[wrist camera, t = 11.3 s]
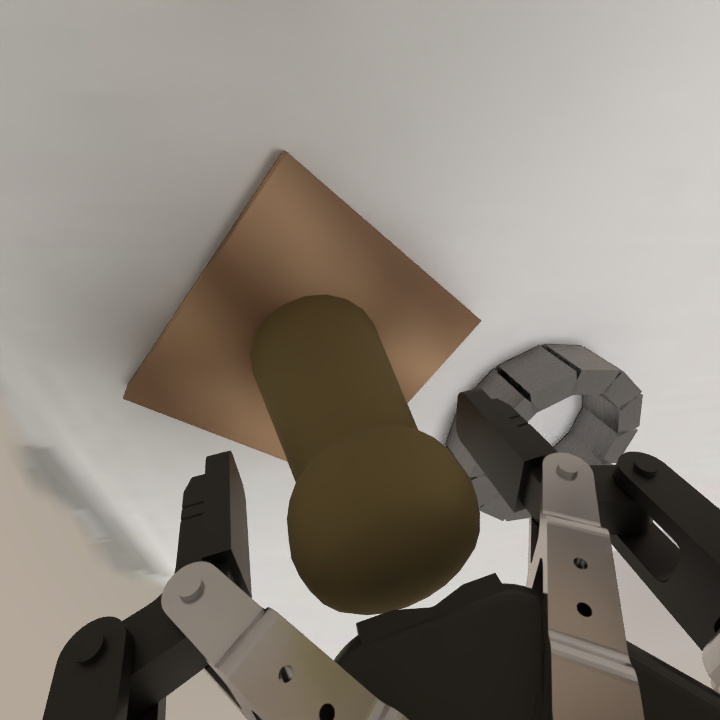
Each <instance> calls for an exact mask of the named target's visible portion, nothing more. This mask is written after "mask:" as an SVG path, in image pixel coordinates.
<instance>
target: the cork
mask: <svg viewBox="0 0 720 720" xmlns="http://www.w3.org/2000/svg"><path fill="white" fill-rule="evenodd" d="M250 355H251V364H252V372H253V375H254V377H255V380H256V382H257V385H258V387H259V390H260V393H261V395H262V398H263V400H264V403H265V405H266V408H267V410H268V413H269V415H270V418H271V420H272V423H273V426H274V428H275V431H276V433H277V436H278V438H279V441H280V443H281V446H282V448H283V451H284V453H285V456H286V459H287V461H288V464H289V466H290V469H291V471H292V474H293V476H294V479H295V481H296V484H295V487H294V490H293V492H292V495H291V498H290V501H289V508H288V516H287V524H288V536H289V544H290V551H291V558H292V561H293V563H294V565H295V567H296V570H297V572H298V574H299V576H300V578H301V579H302V580H303V582H304V583H305V585H306V586H307V587H308V589H309V590H310V591H311V592H312V593H313V594H314V595H315V596H316V597H317V598H318V599H319V600H320V601H321V602H322V603H323V604H324V605H326V606H328V607H330V608H332V609H334V610H336V611H339V612H344V613H353V614H361V615H372V614H381V613H386V612H389V611H391V610H398V609H402V608H405V607H408V606H410V605H412V604H414V603H417V602H419V601H421V600H423V599H425V598H427V597H429V596H430V595H432V594H433V593H435V592H436V591H437V590H439V589H440V588H442V587H443V586H445V585H446V584H447V583H448V582H449V581H450V580H451V579H452V578H453V577H454V576H455V575H456V574H457V573H458V572H459V571H460V570H461V568H462V567H463V566H464V564H465V563H466V561H467V559H468V558H469V556H470V555H471V553H472V552H473V550H474V549H475V546H476V543H477V539H478V536H479V532H480V512H479V506H478V500H477V495H476V493H475V490H474V487H473V484H472V481H471V478H470V477H469V476H468V474H467V473H466V471H465V470H464V469H463V467H462V466H461V464H460V463H459V462H458V461H457V459H456V458H455V457H454V456H453V455H452V453H451V452H450V451H449V450H448V448H446V447H445V446H444V445H443V444H441V443H440V442H439V441H437V440H436V439H435V438H434V437H431V436H429V435H427V434H425V433H423V432H421V431H419V430H418V428H417V426H416V424H415V421H414V419H413V416H412V414H411V412H410V409H409V407H408V404H407V402H406V400H405V397H404V395H403V392H402V390H401V388H400V385H399V383H398V380H397V378H396V376H395V373H394V371H393V368H392V366H391V364H390V361H389V359H388V356H387V354H386V352H385V349H384V347H383V344H382V342H381V340H380V337H379V335H378V332H377V330H376V328H375V325H374V323H373V322H372V321H371V319H370V318H369V317H368V315H367V314H366V313H365V311H364V310H363V309H361V308H360V307H358V306H357V305H355V304H354V303H352V302H350V301H349V300H347V299H344V298H340V297H335V296H331V295H327V294H326V295H313V296H304V297H301V298H299V299H296V300H294V301H291V302H288V303H286V304H284V305H282V306H281V307H280V308H279V309H277V310H276V311H275V312H274V313H272V314H271V315H270V316H268V317H267V318H266V320H265V321H264V323H263V324H262V326H261V327H260V329H259V330H258V332H257V333H256V335H255V338H254V342H253V346H252V350H251V354H250Z"/></svg>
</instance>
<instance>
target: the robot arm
mask: <svg viewBox="0 0 720 720" xmlns="http://www.w3.org/2000/svg"><path fill="white" fill-rule="evenodd" d="M456 430H457V434H458V437H459V439H460V441H461V442H462V444H463V445H464V446H465V448H466V449H467V451H468V452H469V453H470V455H471V456H472V457H473V459H474V460H475V461H476V463H477V464H478V465H479V467H480V468H481V469H482V471H483V472H484V473H485V475H486V476H487V477H488V479H489V480H490V481H491V483H492V484H493V485H494V487H495V488H496V489H497V491H498V492H499V493H500V495H501V496H502V497H503V499H504V500H505V501H506V503H507V504H508V505H509V507H510V508H511V509H512V511H513V512H514V513H515V512H518V511H521V510H524V509H527V511H528V512H529V513H530V520H529V551H528V575H527V583H526V587H525V586H521V585H516V584H502V583H501V581H500V580H499V578H498V576H497V575H496V573H494V574H491V575H488V576H485V577H482V578H480V579H477V580H474V581H471V582H469V583H466V584H463V585H462V586H460V587H459V588H458V589H457V590H455V591H454V592H453V593H451V594H450V595H449V596H447V597H446V598H445V599H443V600H442V601H441V602H439V603H438V604H437V605H435V606H433V607H430V608H417V609H402V610H391V611H389V612H386V613H383V614H380V615H378V616H375V617H372V618H369V619H367V620H364V621H361V622H358V623H356V626H357V632H358V636H356V637H355V638H354V639H352V640H351V641H350V642H349V643H348V644H347V645H346V646H345V647H344V648H343V649H342V650H341V651H340V653H339V654H338V655H337V656H336V658H335V659H334V661H333V660H332V659H331V658H330V657H329V656H328V655H326V654H325V653H324V652H323V651H322V650H321V649H319V648H318V647H317V646H316V645H315V644H314V643H312V642H311V641H310V640H309V639H308V638H307V637H305V636H304V635H303V634H302V633H301V632H300V631H299V630H297V629H296V628H295V627H294V626H293V625H292V624H290V623H289V622H288V621H287V620H286V619H285V618H283V617H282V616H281V615H280V614H279V613H277V612H276V611H275V610H273V609H272V608H269V607H268V608H266V609H264V608H262V607H261V606H260V605H258V604H257V603H256V602H255V601H254V600H253V599H252V593H251V577H250V561H249V545H248V529H247V513H246V499H245V493H244V488H243V484H242V481H241V478H240V475H239V472H238V469H237V466H236V463H235V460H234V457H233V455H232V452H231V451H227V452H223V453H219V454H215V455H211V456H207V457H206V466H205V474H203V475H199V476H196V477H192V478H191V480H190V482H189V484H188V485H187V487H186V489H185V491H184V494H183V504H182V508H183V510H182V513H181V523H180V533H179V542H178V552H177V561H176V569H175V573H174V575H173V576H172V577H171V578H170V580H169V581H168V582H167V584H166V586H165V588H164V590H163V593H162V594H161V595H160V596H159V597H158V598H157V599H156V600H155V601H153V602H152V603H150V604H149V605H147V606H146V607H144V608H143V609H141V610H140V611H138V612H136V613H135V614H133V615H131V616H130V617H128V618H127V619H125V620H123V621H121V620H120V619H118V618H115V617H102V618H99V619H96V620H94V621H92V622H90V623H88V624H87V625H85V626H84V627H82V628H81V629H80V630H79V631H78V632H76V634H75V635H73V636H72V638H71V639H70V640H69V641H68V642H67V644H66V645H65V647H64V648H63V650H62V651H61V653H60V655H59V658H58V661H57V664H56V668H55V672H54V676H53V680H52V684H51V688H50V692H49V696H48V700H47V704H46V708H45V712H44V716H43V720H165V711H166V696H167V695H169V694H170V693H171V692H173V691H174V690H175V689H176V688H178V687H179V686H181V685H182V684H183V683H185V682H186V681H187V680H189V679H190V678H191V677H193V676H194V675H195V674H197V673H198V672H200V671H201V670H202V669H204V671H205V672H206V673H207V674H208V675H209V676H210V677H211V678H212V680H213V681H214V682H215V683H216V684H217V685H218V686H219V688H220V689H221V690H222V691H223V692H224V693H225V694H226V696H227V697H228V698H229V699H230V700H231V701H232V702H233V703H234V705H235V706H236V707H237V708H238V709H239V710H240V711H241V713H242V714H243V715H244V716H245V717H246V719H247V720H720V509H719V508H717V507H716V506H715V505H714V504H713V503H711V502H710V501H709V500H708V499H707V498H705V497H704V496H703V495H702V494H701V493H699V492H698V491H697V490H696V489H695V488H693V487H692V486H691V485H690V484H689V483H687V482H686V481H685V480H684V479H683V478H681V477H680V476H679V475H678V474H677V473H676V472H674V471H673V470H672V469H671V468H670V467H668V466H667V465H666V464H665V463H663V462H662V461H661V460H659V459H657V458H655V457H653V456H651V455H648V454H645V453H641V452H626V453H624V454H622V455H621V456H620V457H619V458H618V461H617V463H616V465H588V464H587V463H586V462H585V461H583V460H582V459H580V458H579V457H577V456H574V455H571V454H568V453H559V452H558V451H556V450H555V449H554V448H553V447H552V446H551V445H550V444H549V443H548V442H547V441H546V440H545V439H544V438H543V437H542V436H541V435H540V434H539V433H538V432H537V431H536V430H535V429H534V428H533V427H532V426H531V425H530V424H528V422H527V421H526V420H525V419H524V418H523V417H521V416H520V414H519V413H518V412H517V411H516V410H515V409H514V408H513V407H512V406H511V405H509V404H507V403H505V402H503V401H501V400H499V399H497V398H496V399H491V398H490V397H489V396H488V395H487V394H486V393H485V392H484V391H483V390H482V389H480V388H477V389H473V390H469V391H465V392H461V393H459V395H458V401H457V416H456ZM653 520H654V521H655V522H656V523H657V524H658V525H659V526H660V527H661V528H662V529H663V530H664V531H665V532H666V533H668V535H669V536H670V537H672V539H673V540H674V541H675V542H676V543H677V545H678V546H679V548H680V549H679V548H678V547H677V546H676V545H675V544H674V543H673V542H672V541H671V540H670V539H669V538H668V537H667V536H666V535H665V534H664V533H663V532H662V531H661V530H660V529H659V528H658V527H657V526H656V525H655V524H654V523H653ZM611 544H612V545H613V546H614V547H615V549H616V550H617V551H618V552H619V553H620V554H621V556H622V557H623V558H624V559H625V560H626V561H627V563H628V564H629V565H630V566H631V567H632V569H633V570H634V571H635V572H636V573H637V574H638V576H639V577H640V578H641V579H642V580H643V582H644V583H645V584H646V585H647V586H648V588H649V589H650V590H651V591H652V592H653V593H654V595H655V596H656V597H657V598H658V599H659V600H660V602H661V603H662V604H663V605H664V606H665V608H666V609H667V610H668V611H669V612H670V614H672V616H673V617H674V618H675V619H676V621H677V622H678V623H679V624H680V625H681V626H682V628H683V629H684V630H685V631H686V632H687V634H688V635H689V636H690V637H691V638H692V640H693V641H694V642H695V643H696V644H697V645H698V647H699V648H700V649H701V650H702V651H703V653H702V659H703V664H704V666H705V669H706V671H707V673H708V675H709V677H710V678H711V685H712V687H713V689H711V688H709V687H707V686H705V685H704V684H702V683H700V682H699V681H697V680H695V679H693V678H691V677H690V676H688V675H686V674H684V673H683V672H681V671H679V670H677V669H676V668H674V667H672V666H670V665H669V664H667V663H665V662H663V661H662V660H660V659H658V658H656V657H655V656H653V655H651V654H649V653H648V652H646V651H644V650H642V649H640V648H638V647H637V646H635V645H633V644H632V643H630V642H628V641H626V637H625V630H624V624H623V617H622V611H621V604H620V598H619V592H618V585H617V579H616V572H615V566H614V559H613V553H612V547H611Z"/></svg>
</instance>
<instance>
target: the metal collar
mask: <svg viewBox="0 0 720 720" xmlns="http://www.w3.org/2000/svg"><path fill="white" fill-rule="evenodd" d="M498 367H499V373H500V374H499V373H498V372H496V371H495V370H494V369H493V370H492V371H491V372H490V373H489V374H488V375H487V376H486V377H485V378H484V380H483V381H482V382H481V383H480V384H479V385H478V386H477V387H476V388H475V389H477V388H480V389H482V390H483V391H484V392H485V393H486V394H487V395H488V396H489V397H490V398H491V399H496V398H497V399H499V400H501V401H503V402H505V403H507V404H509V405H511V406H512V407H513V408H514V409H515V410H516V411H517V412H518V413H519V414H520V416H521V417H523V418H524V419H525V420H526V421H527V422H528V421H529V420H530V419H531V418H532V417H533V416H534V415H535V414H536V413H537V412H539V411H541V410H543V409H545V408H547V407H549V406H551V405H553V404H555V403H557V402H559V401H561V400H563V399H565V398H567V397H569V396H571V395H583V408H582V409H581V411H580V413H579V415H578V417H577V419H576V421H575V423H574V425H573V427H572V428H571V430H570V432H569V433H568V434H567V435H566V436H565V437H564V438H563V439H562V440H561V441H560V442H559V443H558V444H557V445H556V446H555V447H554V449H555V450H556V451H558V452H559V453H568V454H571V455H574V456H577V457H579V458H580V459H582V460H583V461H585V462H586V463H587V464H588V465H612V464H611V463H617V461H618V458H619V457H620V456H621V455H622V454H623V453H624V451H625V450H626V448H627V446H628V445H629V443H630V442H631V440H632V438H633V437H634V435H635V434H636V432H637V429H636V427H638V426H639V424H640V415H641V406H642V397H643V395H642V394H640V393H641V392H642V391H641V390H640V389H639V388H638V387H637V386H636V385H635V384H634V382H633V381H632V380H631V379H630V378H629V377H628V376H627V375H626V374H625V373H624V371H622V370H620V369H619V368H617V367H616V366H614V365H612V364H611V363H609V362H607V361H606V360H604V359H603V358H601V357H599V356H598V355H596V354H595V353H593V352H591V351H590V350H588V349H587V348H585V347H582V346H581V345H552V344H545V345H544V347H541V346H538V347H535V348H533V349H531V350H529V351H527V352H525V353H523V354H521V355H519V356H517V357H515V358H513V359H511V360H509V361H506V362H504V363H502V364H500V365H498ZM456 416H457V413H456ZM456 416H455V419H454V422H453V424H452V427H451V430H450V433H449V436H448V439H447V441H446V444H447V447H446V448H448V450H449V451H450V452H451V453H452V455H453V456H454V457H455V458H456V459H457V461H458V462H459V463H460V464H461V466H462V467H463V469H464V470H465V471H466V473H467V474H468V476H469V477H470V478H471V481H472V484H473V487H474V490H475V493H476V495H477V500H478V506H479V511H482V512H484V513H486V514H489V515H491V516H493V517H495V518H498V519H500V520H502V521H503V520H504V519H506V521H511V520H518V519H524V518H530V513H529V512H528V511H527V509H524V510H521V511H518V512H515V513H514V512H513V511H512V509H511V508H510V507H509V505H508V504H507V503H506V501H505V500H504V499H503V497H502V496H501V495H500V493H499V492H498V491H497V489H496V488H495V487H494V485H493V484H492V483H491V481H490V480H489V479H488V477H487V476H486V475H485V473H484V472H483V471H482V469H481V468H480V467H479V465H478V464H477V463H476V461H475V460H474V459H473V457H472V456H471V455H470V453H469V452H468V451H467V449H466V448H465V446H464V445H463V444H462V442H461V441H460V439H459V437H458V434H457V430H456Z"/></svg>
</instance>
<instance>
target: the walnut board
mask: <svg viewBox="0 0 720 720" xmlns="http://www.w3.org/2000/svg"><path fill="white" fill-rule="evenodd" d="M326 294H327V295H331V296H335V297H340V298H344V299H347V300H349V301H350V302H352V303H354V304H355V305H357V306H358V307H360V308H361V309H363V310H364V311H365V313H366V314H367V315H368V317H369V318H370V319H371V321H372V322H373V323H374V325H375V328H376V330H377V332H378V335H379V337H380V340H381V342H382V344H383V347H384V349H385V352H386V354H387V356H388V359H389V361H390V364H391V366H392V368H393V371H394V373H395V376H396V378H397V380H398V383H399V385H400V388H401V390H402V392H403V395H404V397H405V400H406V402H407V403H408V402H409V401H410V400H411V399H412V398H413V396H414V395H415V394H416V393H417V392H418V391H419V390H420V389H421V388H422V386H423V385H424V384H425V383H426V382H427V381H428V380H429V379H430V377H431V376H432V375H433V374H434V373H435V372H436V371H437V370H438V369H439V367H440V366H441V365H442V364H443V363H444V362H445V361H446V360H447V359H448V357H449V356H450V355H451V354H452V353H453V352H454V351H455V350H456V348H457V347H458V346H459V345H460V344H461V343H462V342H463V341H464V340H465V338H466V337H467V336H468V335H469V334H470V333H471V332H472V331H473V330H474V328H475V327H476V326H477V325H478V324H479V323H480V322H481V320H480V319H479V318H478V317H476V316H475V315H474V314H473V313H472V312H471V311H470V310H468V309H467V308H466V307H465V306H464V305H463V304H461V303H460V302H459V301H458V300H457V299H456V298H455V297H453V296H452V295H451V294H450V293H449V292H448V291H446V290H445V289H444V288H443V287H442V286H441V285H440V284H438V283H437V282H436V281H435V280H434V279H433V278H431V277H430V276H429V275H428V274H427V273H426V272H425V271H423V270H422V269H421V268H420V267H419V266H418V265H416V264H415V263H414V262H413V261H412V260H411V259H410V258H408V257H407V256H406V255H405V254H404V253H403V252H401V251H400V250H399V249H398V248H397V247H396V246H395V245H393V244H392V243H391V242H390V241H389V240H388V239H387V238H385V237H384V236H383V235H382V234H381V233H380V232H378V231H377V230H376V229H375V228H374V227H373V226H372V225H370V224H369V223H368V222H367V221H366V220H365V219H363V218H362V217H361V216H360V215H359V214H358V213H357V212H355V211H354V210H353V209H352V208H351V207H350V206H348V205H347V204H346V203H345V202H344V201H343V200H342V199H340V198H339V197H338V196H337V195H336V194H335V193H333V192H332V191H331V190H330V189H329V188H328V187H327V186H325V185H324V184H323V183H322V182H321V181H320V180H318V179H317V178H316V177H315V176H314V175H313V174H312V173H310V172H309V171H308V170H307V169H306V168H305V167H303V166H302V165H301V164H300V163H299V162H298V161H297V160H295V159H294V158H293V157H292V156H291V155H290V154H288V153H287V152H285V151H283V152H282V153H281V155H280V156H279V158H278V159H277V161H276V162H275V164H274V165H273V167H272V168H271V170H270V171H269V173H268V174H267V176H266V177H265V179H264V181H263V182H262V184H261V185H260V187H259V188H258V190H257V191H256V193H255V194H254V196H253V197H252V199H251V200H250V202H249V203H248V205H247V206H246V208H245V209H244V211H243V212H242V214H241V215H240V217H239V218H238V220H237V221H236V223H235V224H234V226H233V227H232V229H231V230H230V232H229V233H228V235H227V236H226V238H225V239H224V241H223V242H222V244H221V245H220V247H219V248H218V250H217V251H216V253H215V254H214V256H213V257H212V259H211V260H210V262H209V263H208V265H207V266H206V268H205V269H204V271H203V272H202V274H201V275H200V277H199V279H198V280H197V282H196V283H195V285H194V286H193V288H192V289H191V291H190V292H189V294H188V295H187V297H186V298H185V300H184V301H183V303H182V304H181V306H180V307H179V309H178V310H177V312H176V313H175V315H174V316H173V318H172V319H171V321H170V322H169V324H168V325H167V327H166V328H165V330H164V331H163V333H162V334H161V336H160V337H159V339H158V340H157V342H156V343H155V345H154V346H153V348H152V349H151V351H150V352H149V354H148V355H147V357H146V358H145V360H144V361H143V363H142V364H141V366H140V367H139V369H138V370H137V372H136V373H135V375H134V376H133V378H132V380H131V381H130V383H129V384H128V386H127V388H126V391H125V394H124V397H123V399H125V400H128V401H130V402H133V403H136V404H138V405H141V406H144V407H146V408H149V409H151V410H154V411H157V412H159V413H162V414H165V415H167V416H170V417H172V418H175V419H178V420H180V421H183V422H186V423H188V424H191V425H193V426H196V427H199V428H201V429H204V430H206V431H209V432H212V433H214V434H217V435H220V436H222V437H225V438H227V439H230V440H233V441H235V442H238V443H241V444H243V445H246V446H248V447H251V448H254V449H256V450H259V451H261V452H264V453H267V454H269V455H272V456H275V457H277V458H280V459H282V460H285V461H287V459H286V456H285V453H284V451H283V448H282V446H281V443H280V441H279V438H278V436H277V433H276V431H275V428H274V426H273V423H272V420H271V418H270V415H269V413H268V410H267V408H266V405H265V403H264V400H263V398H262V395H261V393H260V390H259V387H258V385H257V382H256V380H255V377H254V375H253V372H252V364H251V355H250V354H251V350H252V346H253V342H254V338H255V335H256V333H257V332H258V330H259V329H260V327H261V326H262V324H263V323H264V321H265V320H266V318H267V317H268V316H270V315H271V314H272V313H274V312H275V311H276V310H277V309H279V308H280V307H281V306H282V305H284V304H286V303H288V302H291V301H294V300H296V299H299V298H301V297H304V296H313V295H326Z"/></svg>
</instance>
